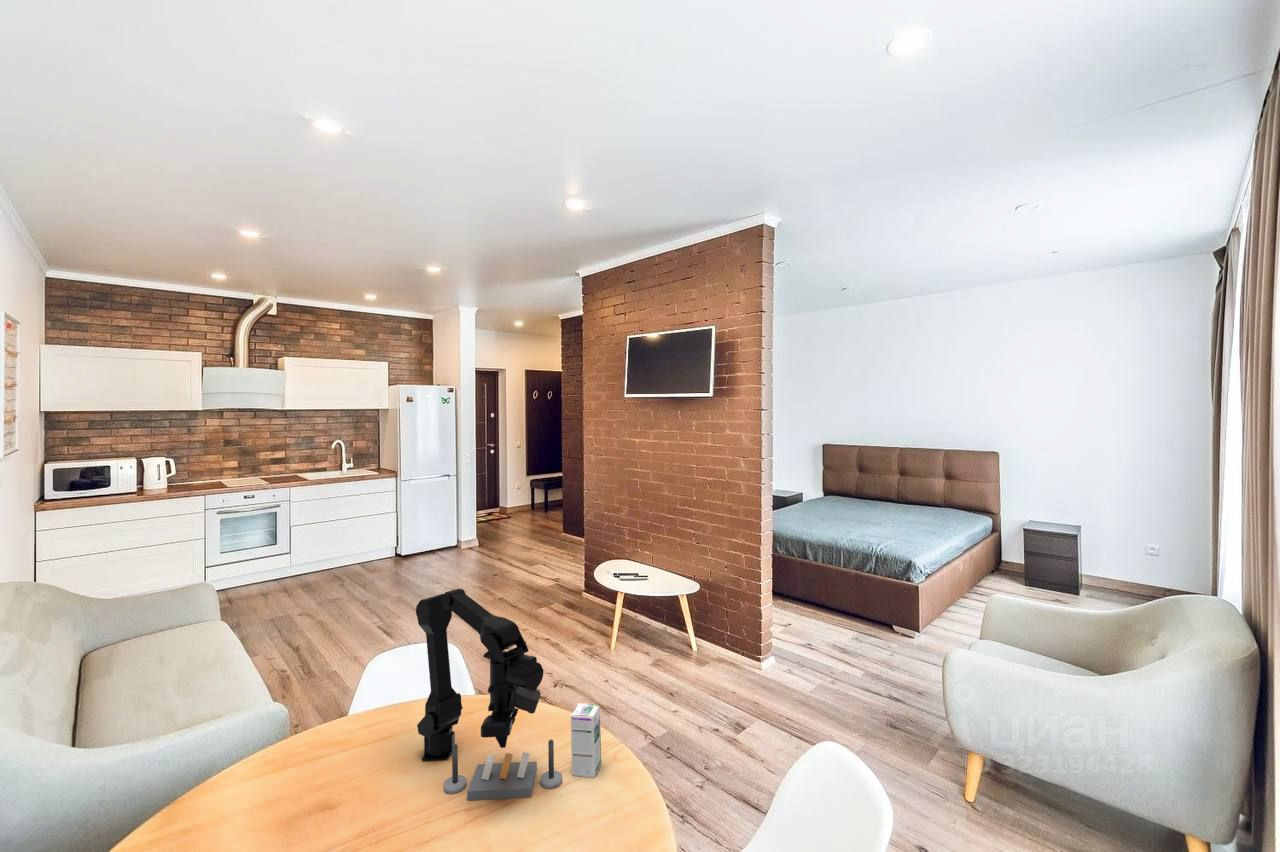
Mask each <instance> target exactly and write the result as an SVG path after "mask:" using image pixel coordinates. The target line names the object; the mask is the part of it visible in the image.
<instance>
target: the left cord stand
mask: <svg viewBox="0 0 1280 852" xmlns="http://www.w3.org/2000/svg"><path fill="white" fill-rule="evenodd" d="M458 749H459V747H458V744H457V743H455V744H454V745H453V746H452V753H451V757H452V758H451V761H452V762H451V764H452V765H451V766H452V768H451V769H452V772H451V773H452V774H451V775H452V776H451V777H448V778H447V779H446V780H444V782H443V792H444V793H445V794H446V795H456V794H459V793H462V792H463V791H465V789H467V787H468V786H467V785H468V784H467V777H466V776H465V775H460V774H459V771H458V770H459V762H458V761H459V757H458V756H459V755H458V754H459V753H458Z"/></svg>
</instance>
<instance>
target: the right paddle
mask: <svg viewBox="0 0 1280 852" xmlns="http://www.w3.org/2000/svg"><path fill="white" fill-rule="evenodd" d="M530 754H531V753H529V752H525V751H523V752H522V756H521V759H520V761H519V762H520V766H519V770H518V774H517V777H519V778H524V775H525V771H526V767H527V763H528V762H529V758H530Z"/></svg>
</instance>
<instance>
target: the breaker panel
mask: <svg viewBox="0 0 1280 852" xmlns="http://www.w3.org/2000/svg"><path fill="white" fill-rule="evenodd" d="M520 762H521V761H519V762H518V761H517V762H515V761H514V762H511V763H510V767H509V771H508V774H507V778H506V779H502V778H499V776H500V772H501V769H502V765H503V762H498V763H497V762H496V763H495V762H494V763H493V767H492V770H491V774H490V777H489V779H488V780H485V779H481V778H482V774H483V770H484V767H485V763H482V764H481V763H478V764H477V765H476V768H475V771H474V773H473V776H472V778H471V781H470V783H469V785H468V788H467V791H466V800H467V801H469V802H470V801H485V800H488V801H489V800H505V799H506V800H507V799H522V798H532V794H533V790H534V787H535V786H534V785H535V779H536V775H537V771H538V762H537V761H536V760H535V761H528V763H527V767H526V771H525V775H524V778H519V777H517V774H518V770H519V766H520Z"/></svg>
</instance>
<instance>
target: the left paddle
mask: <svg viewBox="0 0 1280 852" xmlns="http://www.w3.org/2000/svg"><path fill="white" fill-rule="evenodd" d="M495 758H496V755H495V754H492V753H488V755H487V758H486V761H485V763H484V764H485V767H484V770H483V774H482V778H481V779H485V780H488V779H489V777H490V774H491V770H492V767H493V764H495Z"/></svg>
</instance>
